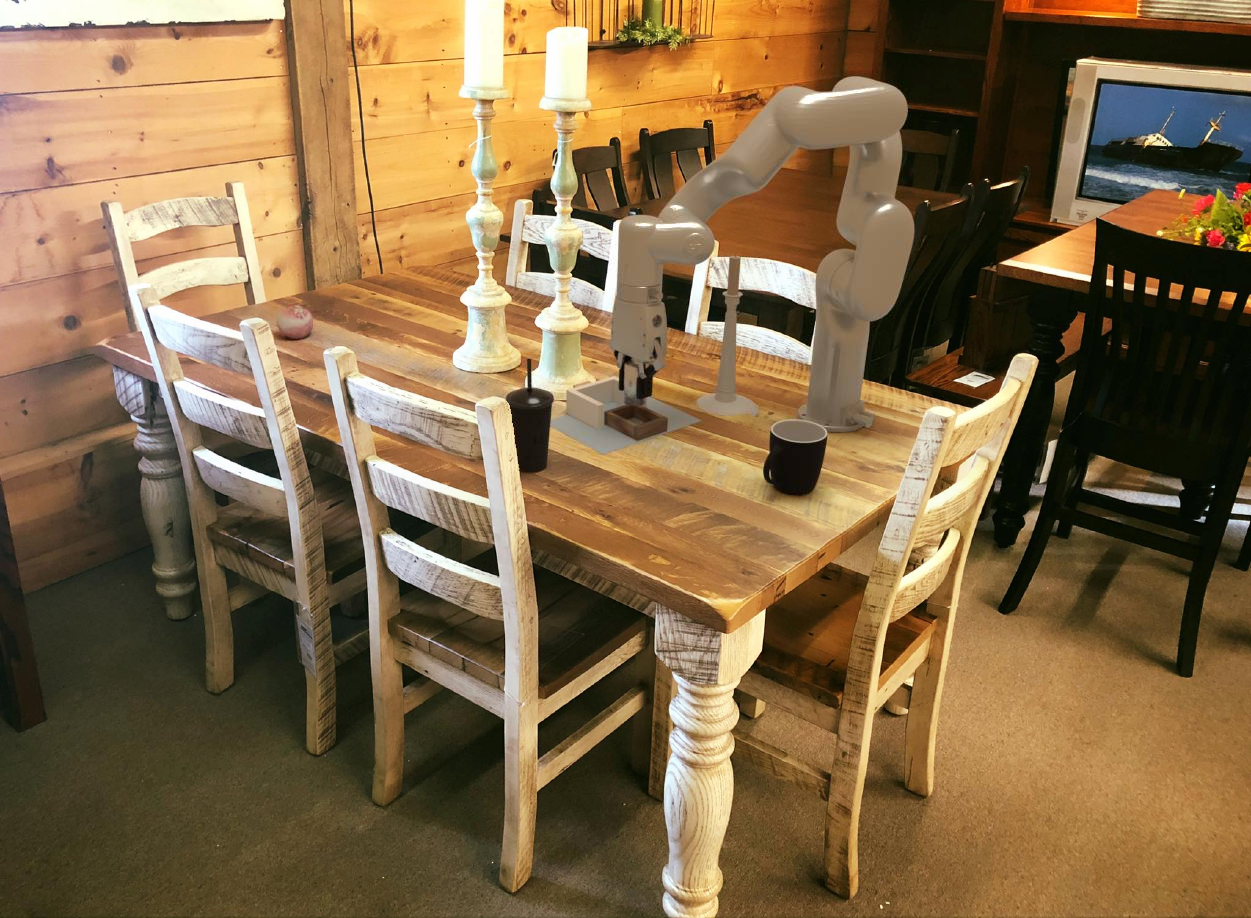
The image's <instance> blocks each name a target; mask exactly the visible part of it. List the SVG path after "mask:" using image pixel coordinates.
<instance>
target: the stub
mask: <svg viewBox="0 0 1251 918" xmlns="http://www.w3.org/2000/svg"><path fill="white" fill-rule="evenodd" d="M645 364H646V368H647V367H648V366H649V364H648V363H645ZM637 377H640V374H639V363H638V360H637V359H634V360H630V361H627V362H625V369H624V398H623V402H624V403H625V404H627V405H630V406H641V405H644V404H645V403H646V398H643V399H637V398H636V389H637Z"/></svg>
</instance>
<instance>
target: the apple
mask: <svg viewBox="0 0 1251 918" xmlns="http://www.w3.org/2000/svg"><path fill="white" fill-rule="evenodd" d="M276 327H277V329H278V331H279V332H280V333H281V334H280V335H281V337H282V338H283V340H284V341H286V340H288V339H292V340H301V339H304V338H307V337H311V336H310V334H311V333H312V331H313V329H314V317H313V315H312V313H311V311H310V310H309V309H307V308H306V307H304V306H302V305H298V304H294V305H293V304H292V305H289V306H287V307H285V308H284V309H283V310H281V312H280V313H278V316H277V318H276Z"/></svg>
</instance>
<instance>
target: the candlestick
mask: <svg viewBox="0 0 1251 918" xmlns="http://www.w3.org/2000/svg"><path fill="white" fill-rule="evenodd" d="M728 258H729V259H728V261H729V262H728V273H727V274H728V275H727V289H726V291H723V292H722V295H723V296H724V297H725V299H724V303H725V305H726V312H725V313H724V314H725V317H724V318H725V319H724V327H723V335H722V345H721V351H720V359H719V368H718V377H717V384H716V391H715V392H714V393H708V394H704V395H702V396H700V397H699V398H698V399H696V405H697V406H698V408H699V409H701V410H702V411H704V412H706V413H710V414H714V415H720V416H738V415H744V414H746V413H747V414H749V415H752V416H754V417H756V418H758V417H759V414H760V410H759V409H760V408H759V406H758V405H757V403H755V402H754V401H752V400H751V399H749V397H745V396H743V395H740V394H737V393H736V389H737V388H736V377H737V376H736V374H737V373H736V372H737V369H736V366H737V318H738V313H737V307H738V305H739V304H740V302H741V301H740V298H741V297H742V296H743V293H742V292H741V291H739V288H740V287H739V285H740V275H741V274H740V272H741V262H742V261H741V260H742V259H741V256H739V255H736V253H735V255H730V256H729V257H728Z"/></svg>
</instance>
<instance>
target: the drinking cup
mask: <svg viewBox="0 0 1251 918" xmlns="http://www.w3.org/2000/svg"><path fill="white" fill-rule="evenodd" d="M526 375H527V376H526V378H527V381H526V382H527V383H526V384H527V387H520V388H519V389H515V390H511V391H509V392H508V393H507V394H506V396H505V402H506V401H507V402H508V403H509V405H510V409H511V414H512V423H513V427H514V435H515V444H516V448H517V456H518V464H519V468H520V471H519V472H522V473H527V474H535V473H539V472H542V471H544V470H546V469H547V466H548V454H549V444H550V443H549V442H550V434H551V433H550V431H551V426H550V422H551V419H552V410H553V409H552V408H553V403H554V401H555V396H554V394H553V393H552V392H550V391H548V390H545V389H542V388H538V387H534V386H533V381H532V380H533V379H532V378H533V377H532V359H531V358H527V359H526ZM507 402H506V403H507Z"/></svg>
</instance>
